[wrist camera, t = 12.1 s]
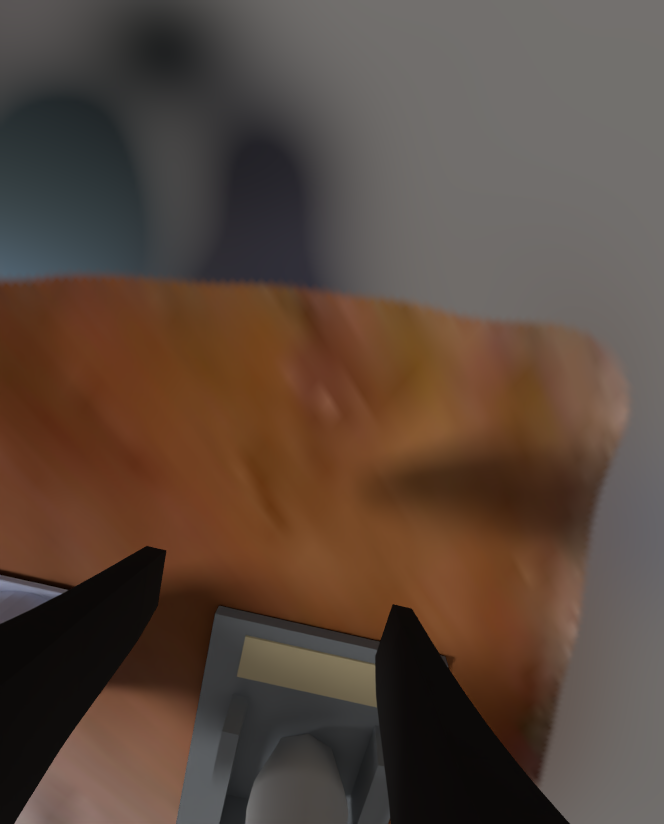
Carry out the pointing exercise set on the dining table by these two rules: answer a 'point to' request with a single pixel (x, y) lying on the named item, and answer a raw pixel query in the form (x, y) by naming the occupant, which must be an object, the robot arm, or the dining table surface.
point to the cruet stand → (282, 714)
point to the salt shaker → (298, 786)
